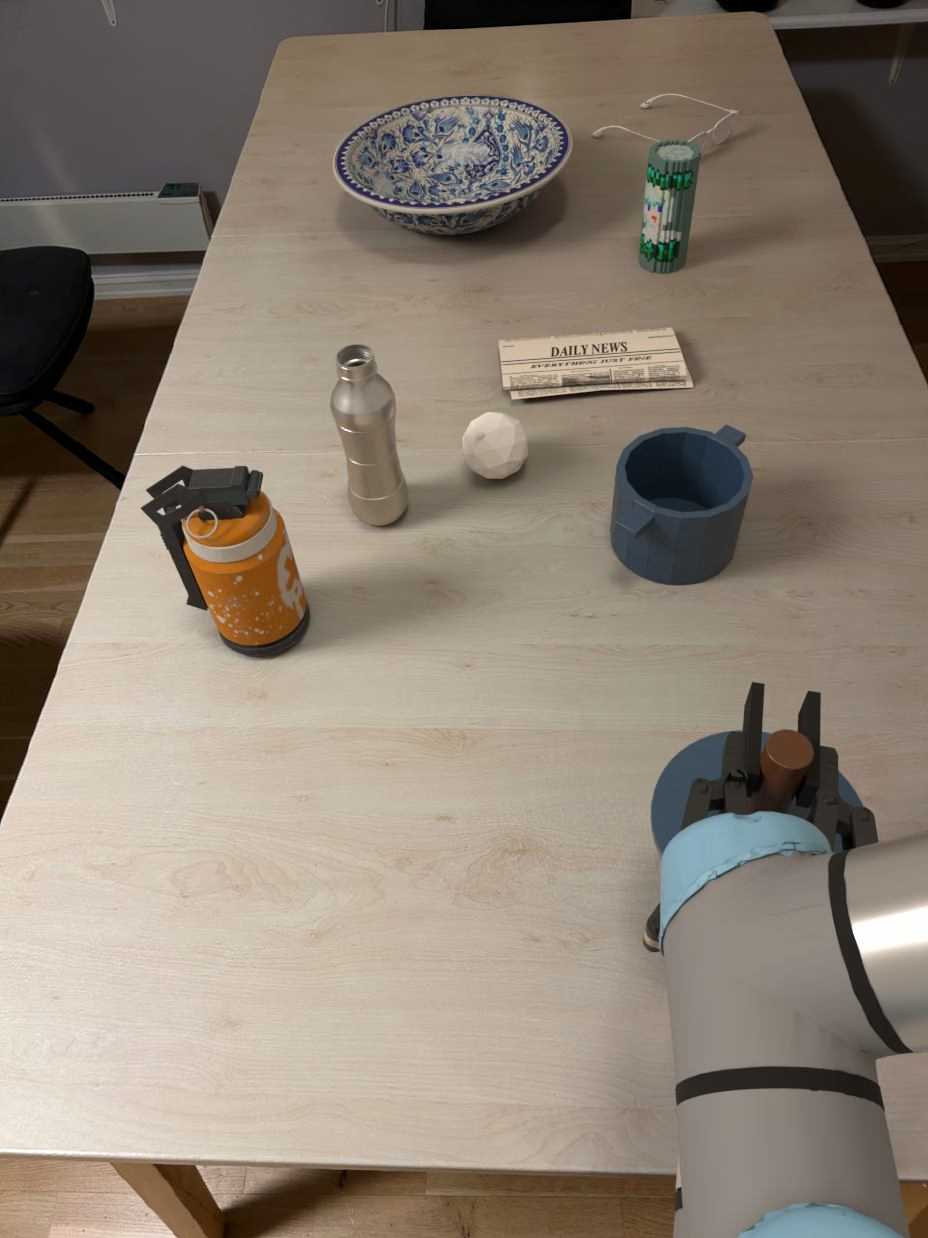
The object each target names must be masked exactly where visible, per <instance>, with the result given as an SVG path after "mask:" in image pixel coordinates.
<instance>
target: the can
mask: <svg viewBox="0 0 928 1238" xmlns="http://www.w3.org/2000/svg"><path fill="white" fill-rule="evenodd" d="M659 141H660V142H658V141H657V142H656V143H654V144H653V145H651V146H650V148H649V149H648V160H647V171H646V181H645V192H644V199H643V209H642V219H641V220H642V221H641V230H640V231H641V232H640V241H639V251H638V264H639V265H641V268H643V269H645V270H646V271H648V272H651V273H657V274H665V273H666V274H670V273H671V272H673V273H675V272H677V271H678V270H680V269H681V268H684V267H685V264H686V262H687V254H688V248H689V241H690V233H691V227H692V221H693V220H692V219H693V214H694V213H693V212H694V206H695V198H696V191H697V183H698V177H699V170H700V163H701V155H702V152H700V151H701V150H700V148H699V147H697V144H694V143H691V142H689V140H686V139H684V140H681V139H678V138H677V139H675V138H674V139H673V138H672V139H666V140H659Z"/></svg>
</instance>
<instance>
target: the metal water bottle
mask: <svg viewBox="0 0 928 1238" xmlns="http://www.w3.org/2000/svg"><path fill="white" fill-rule="evenodd" d="M335 364H336V375H337V378H338V380H337V382H336V384H335V386H334V387H333V390H332V391H331V394H330V402H329V409H330V412H331V415H332V418H333V421H334V424H335V426H336V428H337V429H336V430H337V432H338V434H339V436H340V440H341V443H342V448H343V450H344V451H343V452H344V456H345V459H346V468H347V478H348V479H347V499H348V500H347V501H348V504H349V506H350V509H351V511H352V513H353V514H354V516H355V518H356V519H358V520H359V521H361V522H363V523H365V524H366V525H369V526H374V527H377V526H378V527H381V526H387V525H389V524H392V523H394V522H395V521H397V520H399V518H400V517H401V516H402V515H403V514H404V512H405V511H406V509H407V507H408V503H409V487H408V484H407V480H406V477H405V475H404V473H403V470H402V467H401V462H400V459H399V454H398V449H397V437H396V435H397V434H396V415H397V414H396V413H397V412H396V410H397V409H396V408H397V403H396V401H397V400H396V394H395V392H394V389H393V388H392V386H391V383H389V381H388V380H386V379H385V378H384V376H382V375H381V374H380V373H378V369H379V368H378V364H377V361H376V357H375V352H374V350H373V349H372V347H370V346H369V345H367V344H363V343H351V344H348V345H345V346H343V347H341V348H340V349H339V350H338V351H337V352H336V354H335Z"/></svg>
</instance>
